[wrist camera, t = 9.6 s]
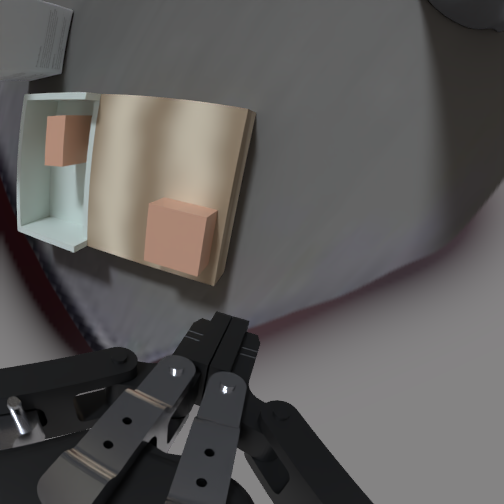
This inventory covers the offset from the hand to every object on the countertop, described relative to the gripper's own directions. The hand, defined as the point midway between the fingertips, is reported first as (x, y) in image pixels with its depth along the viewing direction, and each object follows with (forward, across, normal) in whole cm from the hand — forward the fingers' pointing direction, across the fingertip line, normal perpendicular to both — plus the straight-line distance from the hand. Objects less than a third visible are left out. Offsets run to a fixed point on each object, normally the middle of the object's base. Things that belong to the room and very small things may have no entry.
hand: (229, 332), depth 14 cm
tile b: (+11, +6, 0) cm, 13 cm away
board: (+14, +10, -3) cm, 18 cm away
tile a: (+12, +18, -6) cm, 22 cm away
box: (+14, +21, -3) cm, 25 cm away
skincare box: (+14, +29, -16) cm, 36 cm away
